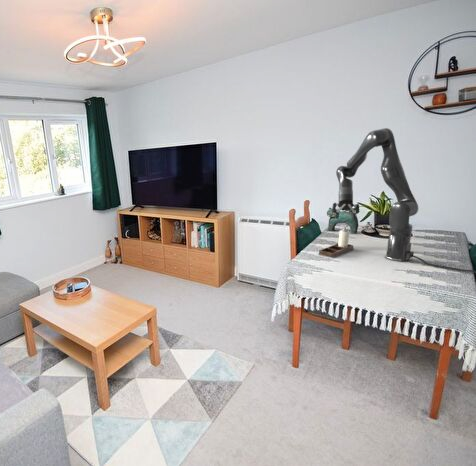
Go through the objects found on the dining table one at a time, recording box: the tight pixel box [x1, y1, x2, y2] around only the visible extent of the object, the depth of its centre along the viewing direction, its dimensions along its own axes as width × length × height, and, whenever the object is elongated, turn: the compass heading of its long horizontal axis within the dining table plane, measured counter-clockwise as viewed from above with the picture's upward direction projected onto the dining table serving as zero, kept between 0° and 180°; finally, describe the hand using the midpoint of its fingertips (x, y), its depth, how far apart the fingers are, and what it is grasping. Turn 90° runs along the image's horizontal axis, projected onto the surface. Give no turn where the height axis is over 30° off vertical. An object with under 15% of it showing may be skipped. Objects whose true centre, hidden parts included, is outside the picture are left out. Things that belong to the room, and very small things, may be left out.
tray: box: [318, 243, 354, 258], centre depth 192 cm, size 8×23×3 cm, turn 118°
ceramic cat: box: [326, 207, 359, 235], centre depth 228 cm, size 20×6×20 cm, turn 37°
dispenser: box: [337, 223, 350, 248], centre depth 194 cm, size 5×5×16 cm
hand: (345, 219), depth 196 cm, fingers open, 8 cm apart
